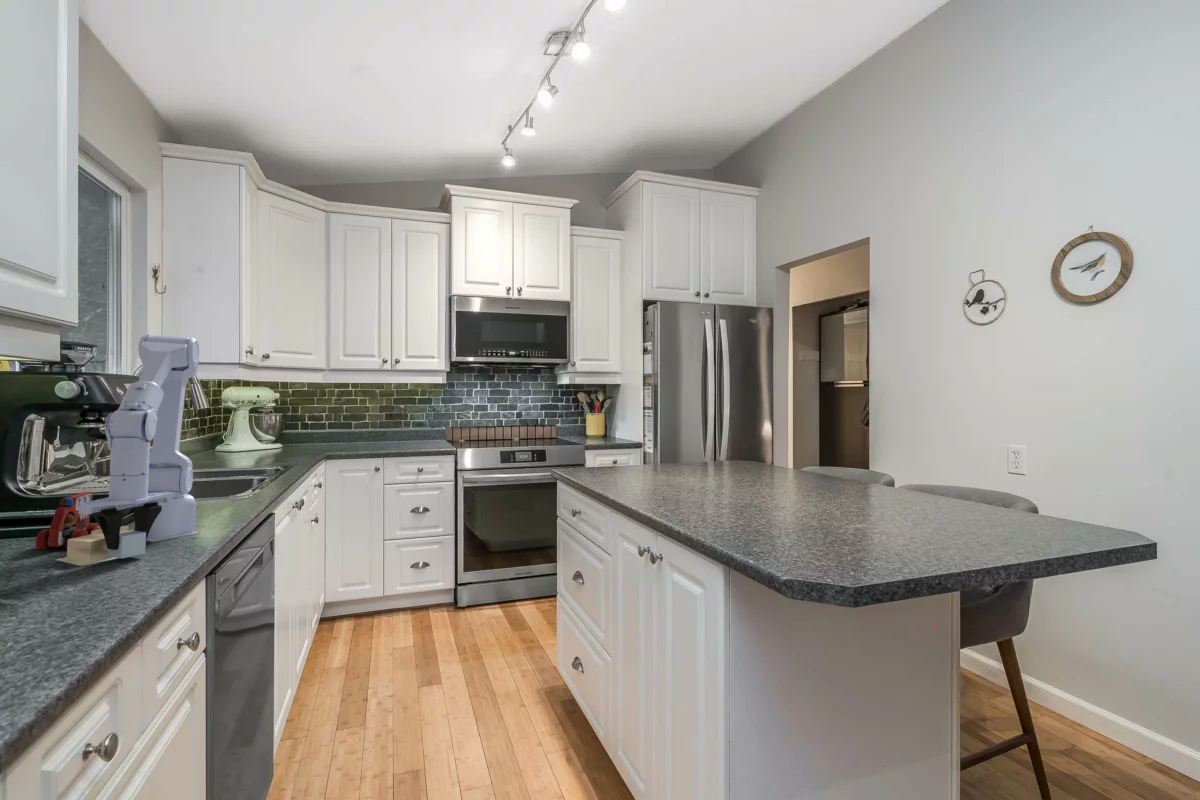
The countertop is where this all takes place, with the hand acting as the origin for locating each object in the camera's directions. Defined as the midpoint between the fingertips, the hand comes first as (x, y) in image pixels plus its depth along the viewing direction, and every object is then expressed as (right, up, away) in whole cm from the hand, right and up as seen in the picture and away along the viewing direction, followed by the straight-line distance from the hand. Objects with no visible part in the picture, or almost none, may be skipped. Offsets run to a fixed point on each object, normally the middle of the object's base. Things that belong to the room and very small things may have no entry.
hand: (126, 546), depth 109 cm
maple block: (-6, -2, -1) cm, 6 cm away
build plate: (-6, -3, +1) cm, 7 cm away
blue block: (0, -2, 0) cm, 2 cm away
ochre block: (-8, -2, +6) cm, 11 cm away
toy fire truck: (-18, -2, +8) cm, 20 cm away
